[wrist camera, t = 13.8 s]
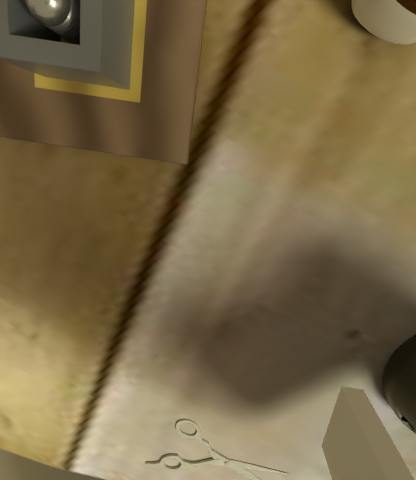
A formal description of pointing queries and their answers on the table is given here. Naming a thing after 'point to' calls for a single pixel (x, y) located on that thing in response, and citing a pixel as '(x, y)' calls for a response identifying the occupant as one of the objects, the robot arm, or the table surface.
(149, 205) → the table surface
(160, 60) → the base plate
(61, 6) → the steel post
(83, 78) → the collar
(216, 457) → the scissors
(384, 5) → the spread jar
